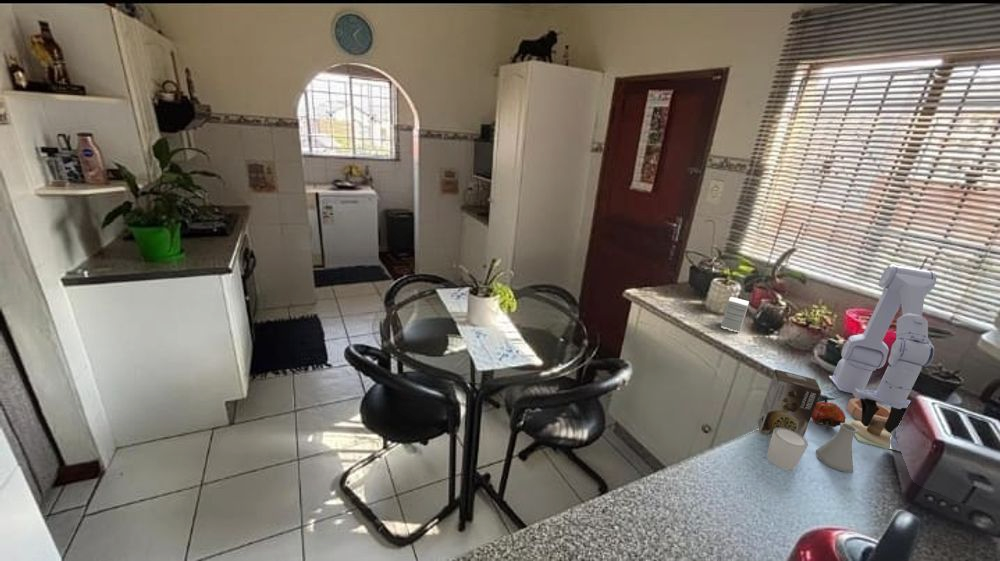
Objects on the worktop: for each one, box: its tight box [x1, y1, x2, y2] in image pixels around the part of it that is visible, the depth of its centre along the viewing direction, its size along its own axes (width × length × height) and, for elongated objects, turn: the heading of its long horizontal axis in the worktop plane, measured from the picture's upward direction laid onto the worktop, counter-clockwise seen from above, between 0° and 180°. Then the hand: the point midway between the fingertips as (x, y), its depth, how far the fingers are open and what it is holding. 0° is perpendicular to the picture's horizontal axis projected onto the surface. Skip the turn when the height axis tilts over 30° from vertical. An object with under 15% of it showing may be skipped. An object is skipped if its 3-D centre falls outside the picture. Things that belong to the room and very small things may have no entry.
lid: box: [851, 417, 892, 446], centre depth 110 cm, size 9×9×4 cm
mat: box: [845, 417, 891, 450], centre depth 111 cm, size 10×10×1 cm
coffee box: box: [756, 369, 822, 438], centre depth 105 cm, size 9×6×16 cm
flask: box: [815, 423, 858, 473], centre depth 97 cm, size 7×7×10 cm
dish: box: [845, 397, 891, 427], centre depth 119 cm, size 10×10×3 cm
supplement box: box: [720, 296, 750, 332], centre depth 172 cm, size 7×7×13 cm
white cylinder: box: [767, 428, 809, 471], centre depth 96 cm, size 7×7×7 cm
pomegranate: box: [811, 398, 846, 434], centre depth 112 cm, size 7×7×10 cm
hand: (875, 427), depth 110 cm, fingers open, 5 cm apart
